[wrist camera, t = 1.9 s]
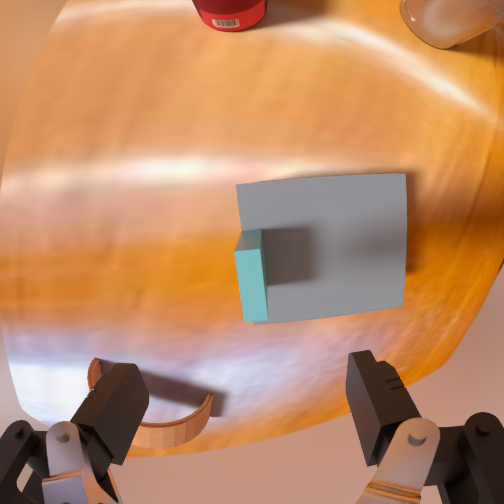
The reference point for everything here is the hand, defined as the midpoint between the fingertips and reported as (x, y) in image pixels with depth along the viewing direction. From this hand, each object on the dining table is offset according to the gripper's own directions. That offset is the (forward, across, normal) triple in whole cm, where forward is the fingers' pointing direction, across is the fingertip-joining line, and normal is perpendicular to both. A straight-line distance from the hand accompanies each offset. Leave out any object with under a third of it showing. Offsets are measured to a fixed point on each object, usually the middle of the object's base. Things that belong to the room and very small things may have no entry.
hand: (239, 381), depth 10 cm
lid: (+17, -7, 0) cm, 18 cm away
